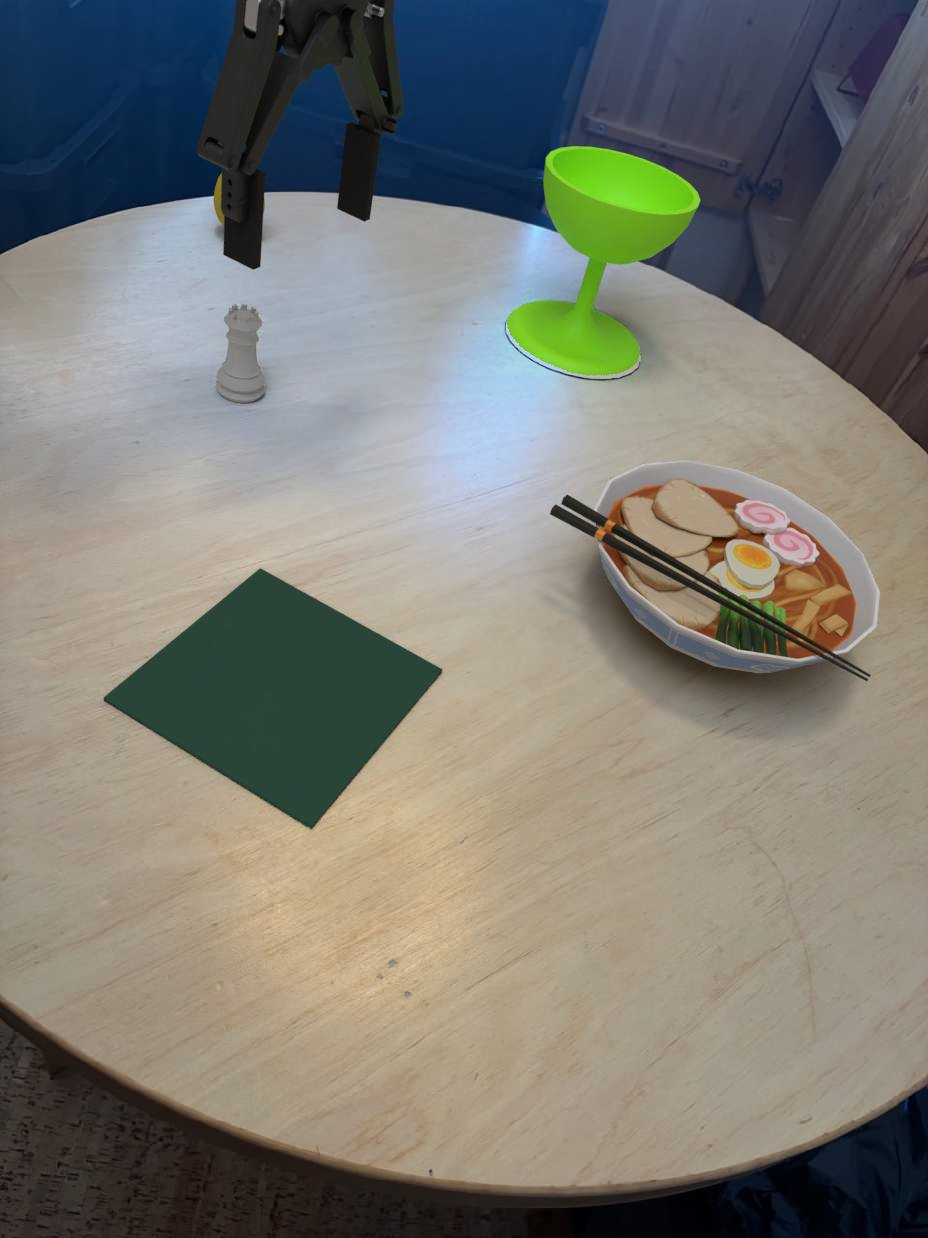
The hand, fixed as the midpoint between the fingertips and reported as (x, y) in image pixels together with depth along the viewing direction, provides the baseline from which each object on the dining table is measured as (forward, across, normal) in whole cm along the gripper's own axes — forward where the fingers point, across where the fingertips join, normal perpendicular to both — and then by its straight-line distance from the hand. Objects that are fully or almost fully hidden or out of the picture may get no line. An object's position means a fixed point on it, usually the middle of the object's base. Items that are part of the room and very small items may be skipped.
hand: (301, 236), depth 72 cm
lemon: (+18, +26, +28) cm, 42 cm away
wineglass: (+18, +38, -11) cm, 43 cm away
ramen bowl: (+18, +5, -39) cm, 43 cm away
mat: (+18, -23, -18) cm, 34 cm away
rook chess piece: (+18, +2, +7) cm, 19 cm away
